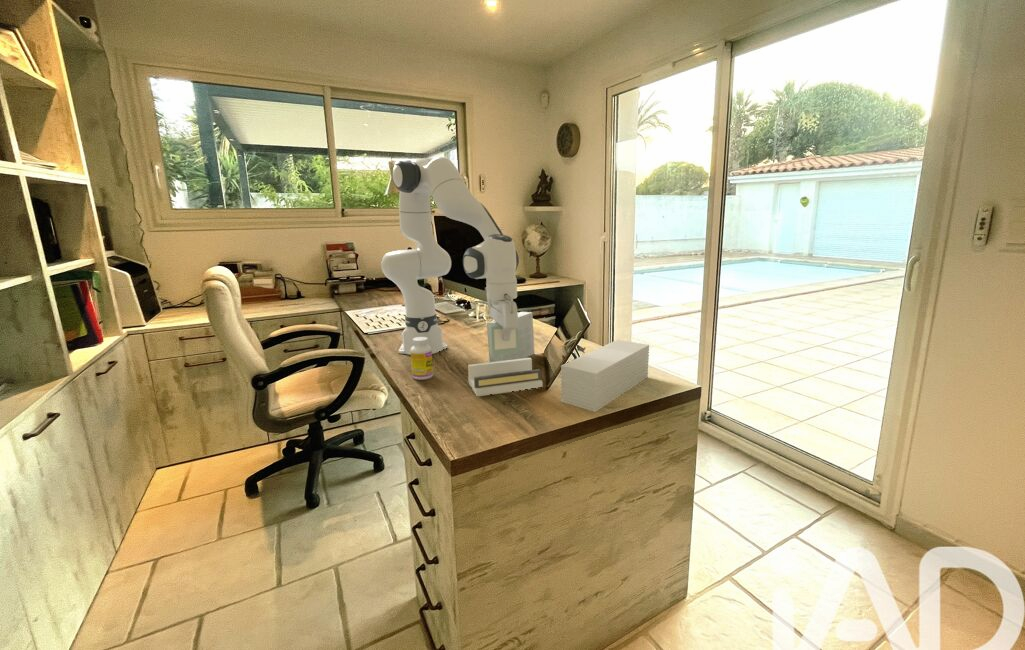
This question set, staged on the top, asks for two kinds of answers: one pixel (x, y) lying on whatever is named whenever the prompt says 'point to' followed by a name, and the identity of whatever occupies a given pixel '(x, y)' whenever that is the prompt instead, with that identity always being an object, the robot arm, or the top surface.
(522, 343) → the skincare box
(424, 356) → the supplement bottle
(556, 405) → the top surface
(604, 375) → the stack of papers
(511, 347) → the product box
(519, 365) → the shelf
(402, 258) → the robot arm
